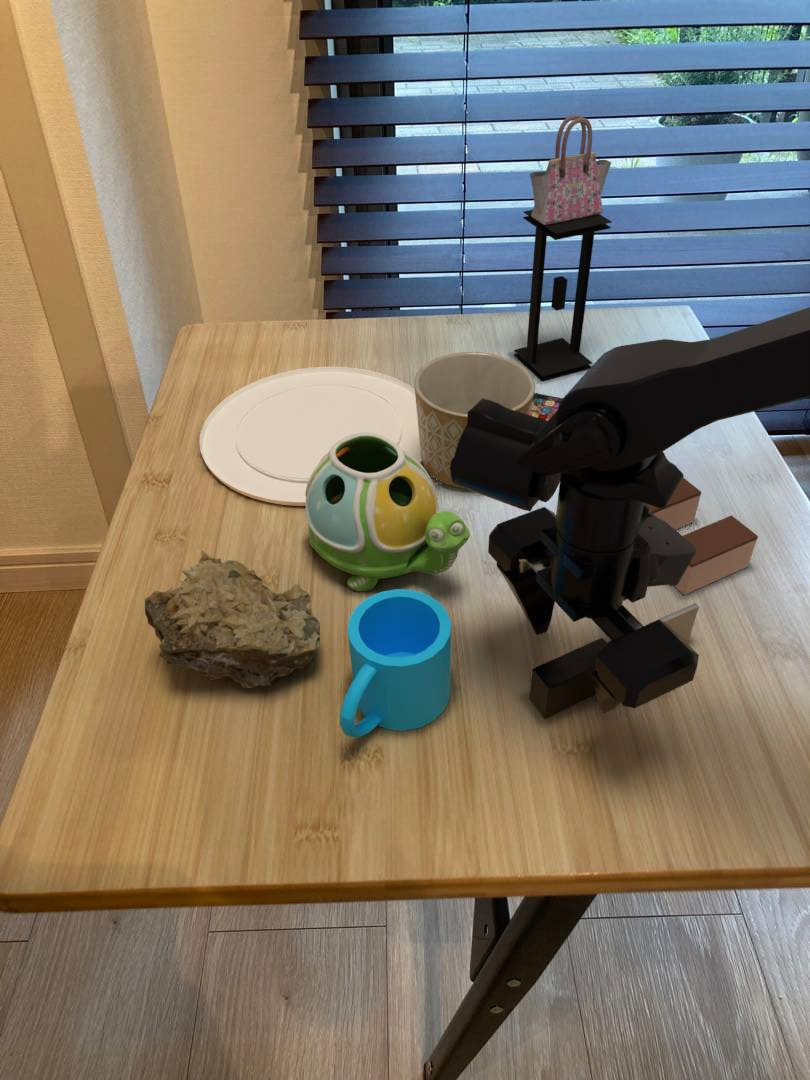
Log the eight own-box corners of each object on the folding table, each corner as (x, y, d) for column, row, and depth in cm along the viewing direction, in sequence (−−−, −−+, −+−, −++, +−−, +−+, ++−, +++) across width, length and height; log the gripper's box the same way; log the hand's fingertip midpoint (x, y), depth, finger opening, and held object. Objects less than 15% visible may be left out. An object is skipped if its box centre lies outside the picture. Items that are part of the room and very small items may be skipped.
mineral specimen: (345, 602, 80) (336, 522, 73) (311, 713, 70) (297, 633, 64) (200, 586, 82) (178, 508, 75) (147, 692, 72) (118, 613, 66)
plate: (430, 367, 111) (430, 362, 111) (444, 502, 90) (444, 497, 90) (217, 375, 111) (217, 370, 110) (182, 512, 90) (180, 507, 90)
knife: (544, 719, 69) (549, 685, 66) (528, 698, 71) (532, 664, 68) (696, 648, 74) (706, 613, 71) (677, 630, 76) (687, 595, 73)
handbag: (532, 383, 108) (553, 133, 88) (504, 357, 113) (518, 114, 93) (602, 365, 111) (638, 118, 91) (572, 340, 116) (599, 101, 96)
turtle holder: (414, 639, 76) (412, 541, 68) (284, 548, 86) (268, 453, 78) (500, 568, 83) (507, 471, 75) (370, 491, 92) (364, 398, 84)
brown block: (748, 566, 82) (758, 536, 79) (683, 595, 79) (692, 564, 77) (722, 545, 84) (731, 515, 82) (659, 572, 82) (666, 542, 79)
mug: (389, 640, 76) (385, 575, 71) (468, 678, 73) (470, 613, 67) (306, 735, 69) (295, 671, 63) (389, 782, 65) (385, 719, 60)
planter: (521, 430, 100) (529, 352, 93) (530, 498, 91) (540, 417, 84) (414, 428, 100) (415, 350, 93) (412, 496, 91) (413, 415, 84)
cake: (693, 522, 87) (701, 491, 84) (631, 547, 84) (637, 516, 82) (643, 480, 92) (649, 450, 90) (583, 502, 90) (588, 473, 87)
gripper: (784, 568, 55) (729, 713, 65) (607, 427, 68) (585, 567, 78) (648, 629, 51) (613, 772, 62) (488, 468, 64) (481, 609, 74)
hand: (572, 669), depth 69 cm, fingers open, 9 cm apart
